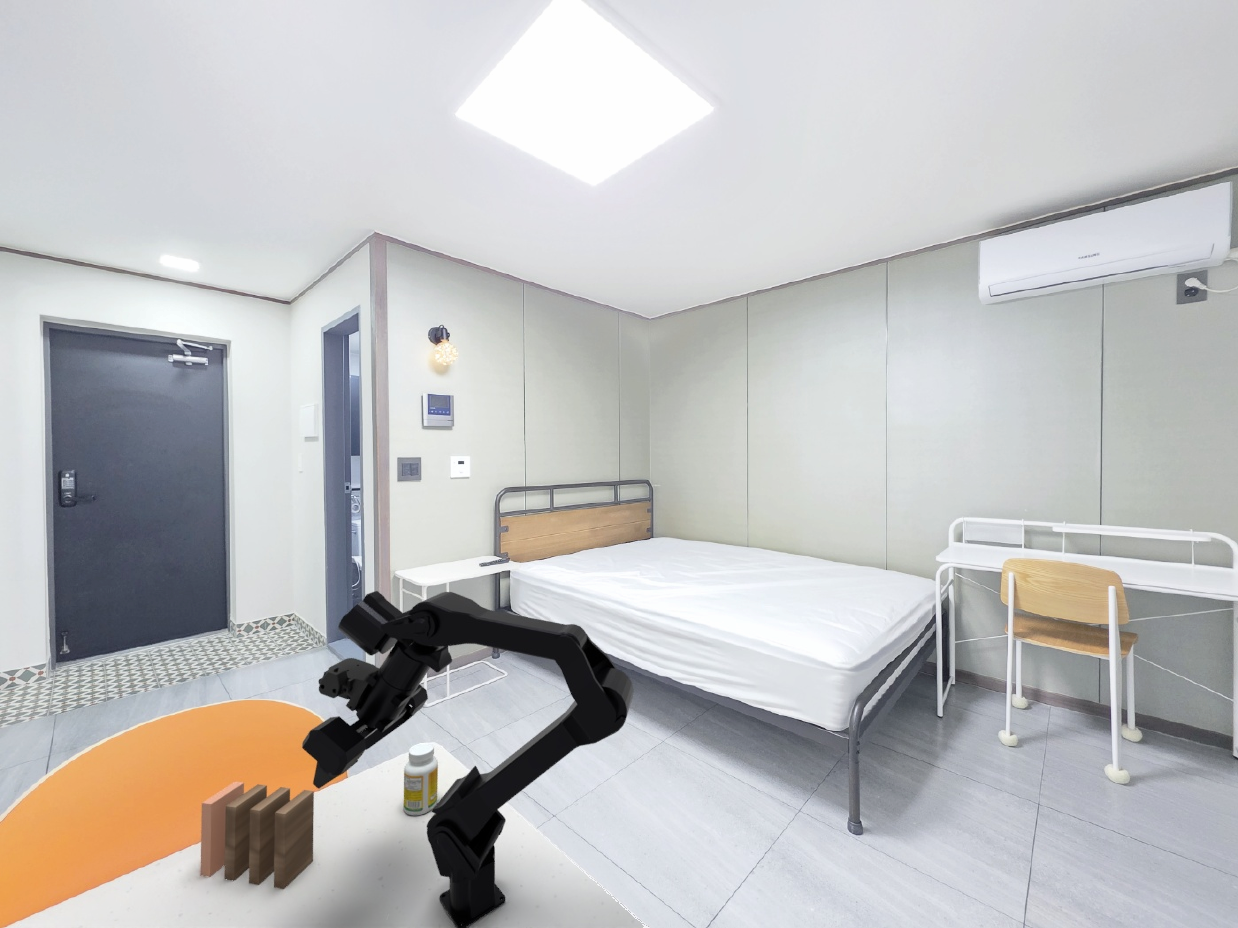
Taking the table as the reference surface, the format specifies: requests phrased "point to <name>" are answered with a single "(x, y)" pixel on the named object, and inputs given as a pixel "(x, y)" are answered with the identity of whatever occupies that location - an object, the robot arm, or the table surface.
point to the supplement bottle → (420, 780)
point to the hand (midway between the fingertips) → (342, 765)
